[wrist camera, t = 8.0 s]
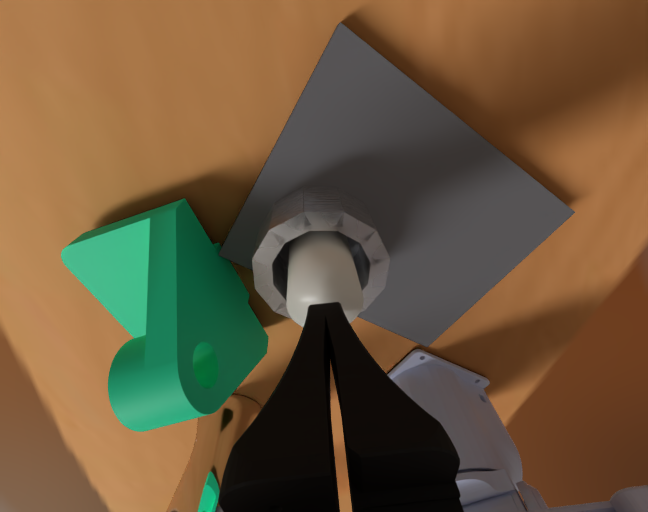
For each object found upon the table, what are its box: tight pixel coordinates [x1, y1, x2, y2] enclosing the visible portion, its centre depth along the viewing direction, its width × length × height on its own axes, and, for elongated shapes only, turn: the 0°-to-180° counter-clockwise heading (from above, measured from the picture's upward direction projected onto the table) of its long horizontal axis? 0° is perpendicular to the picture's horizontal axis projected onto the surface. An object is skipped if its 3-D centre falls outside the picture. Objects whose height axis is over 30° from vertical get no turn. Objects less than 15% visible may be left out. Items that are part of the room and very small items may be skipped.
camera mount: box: [61, 198, 268, 432], centre depth 18 cm, size 12×8×10 cm, turn 18°
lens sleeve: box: [252, 187, 390, 319], centre depth 18 cm, size 7×7×4 cm
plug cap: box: [286, 231, 364, 327], centre depth 17 cm, size 4×4×6 cm
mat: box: [218, 22, 575, 347], centre depth 20 cm, size 18×14×1 cm
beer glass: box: [166, 394, 262, 512], centre depth 24 cm, size 7×7×15 cm
